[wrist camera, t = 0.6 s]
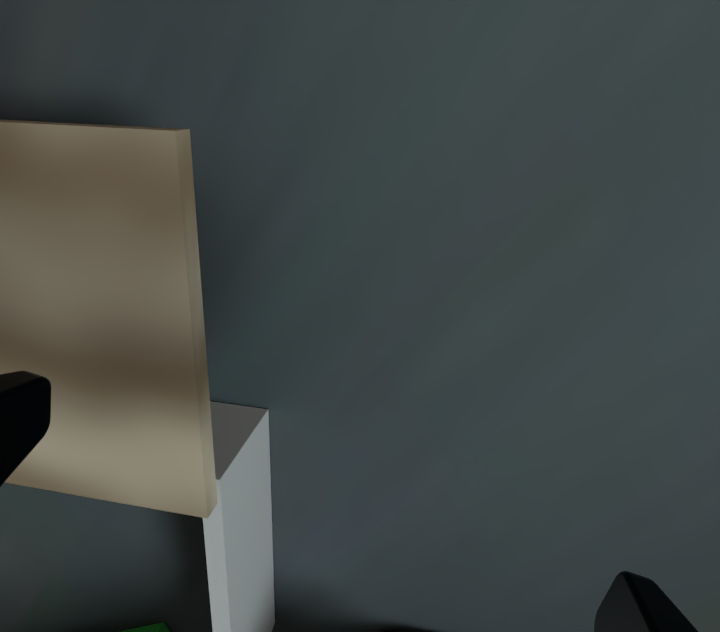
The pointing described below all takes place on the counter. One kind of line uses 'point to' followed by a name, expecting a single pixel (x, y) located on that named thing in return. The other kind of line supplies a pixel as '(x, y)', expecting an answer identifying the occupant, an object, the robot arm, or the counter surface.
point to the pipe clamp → (150, 628)
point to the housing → (240, 522)
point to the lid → (108, 310)
